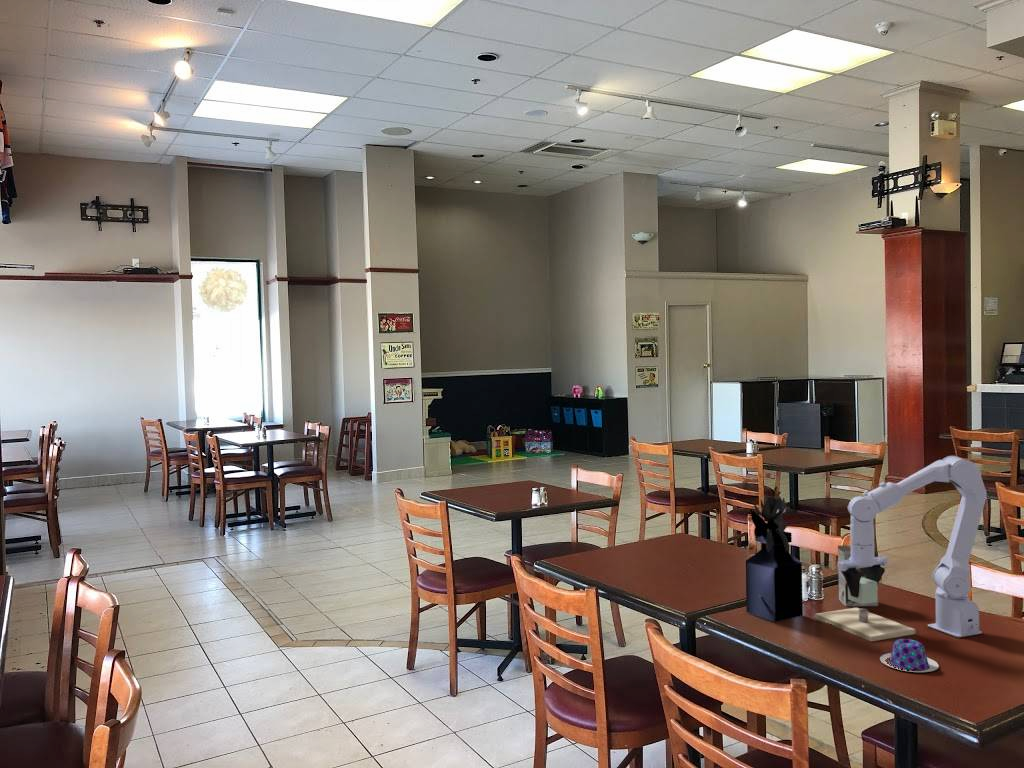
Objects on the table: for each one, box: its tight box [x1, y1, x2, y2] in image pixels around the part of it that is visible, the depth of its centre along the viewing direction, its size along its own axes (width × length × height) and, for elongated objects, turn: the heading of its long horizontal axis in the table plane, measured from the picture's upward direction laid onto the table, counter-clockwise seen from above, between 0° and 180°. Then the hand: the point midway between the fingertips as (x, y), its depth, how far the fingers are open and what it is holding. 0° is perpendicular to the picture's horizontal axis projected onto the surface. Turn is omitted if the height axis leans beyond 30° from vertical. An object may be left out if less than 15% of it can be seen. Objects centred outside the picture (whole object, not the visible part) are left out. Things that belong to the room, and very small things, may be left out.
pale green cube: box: [848, 578, 879, 604], centre depth 208 cm, size 5×5×5 cm
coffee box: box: [837, 544, 879, 607], centre depth 227 cm, size 9×6×16 cm
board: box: [814, 607, 916, 642], centre depth 208 cm, size 20×14×4 cm
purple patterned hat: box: [879, 638, 940, 673], centre depth 181 cm, size 12×12×5 cm
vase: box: [745, 486, 804, 623], centre depth 218 cm, size 14×12×35 cm
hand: (863, 595), depth 208 cm, fingers closed on pale green cube, 5 cm apart
